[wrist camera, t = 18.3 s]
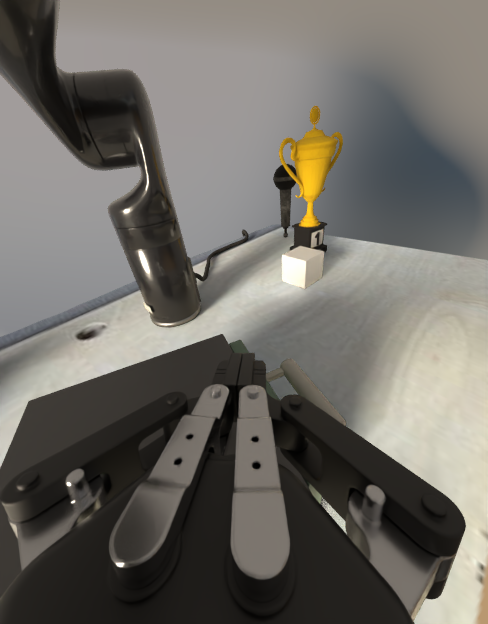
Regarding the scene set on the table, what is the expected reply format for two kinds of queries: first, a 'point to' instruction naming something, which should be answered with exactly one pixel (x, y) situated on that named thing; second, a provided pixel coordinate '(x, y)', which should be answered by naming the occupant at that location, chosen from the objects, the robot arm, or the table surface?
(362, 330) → the table surface
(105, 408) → the cabinet
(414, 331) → the table surface
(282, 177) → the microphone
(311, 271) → the off-white cube
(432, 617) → the table surface
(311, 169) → the trophy
